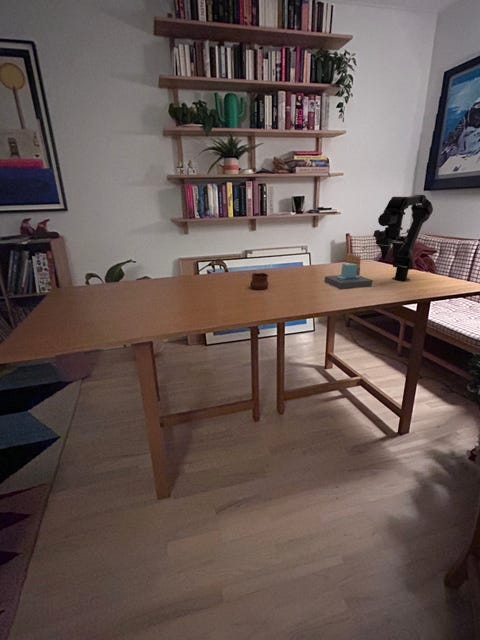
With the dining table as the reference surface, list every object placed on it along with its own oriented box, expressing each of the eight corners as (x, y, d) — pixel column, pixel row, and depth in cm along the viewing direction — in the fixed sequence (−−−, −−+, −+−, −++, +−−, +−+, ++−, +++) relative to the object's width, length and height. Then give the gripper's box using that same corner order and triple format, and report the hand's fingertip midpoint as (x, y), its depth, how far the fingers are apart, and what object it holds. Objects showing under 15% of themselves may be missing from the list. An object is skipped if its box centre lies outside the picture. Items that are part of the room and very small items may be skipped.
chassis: (354, 279, 168) (355, 273, 167) (371, 286, 156) (372, 280, 154) (324, 281, 163) (324, 276, 162) (340, 289, 151) (340, 283, 149)
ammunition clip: (359, 276, 174) (362, 254, 169) (356, 277, 173) (359, 255, 169) (346, 272, 183) (349, 251, 179) (343, 272, 182) (346, 251, 178)
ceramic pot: (258, 281, 164) (258, 268, 161) (285, 288, 152) (286, 274, 149) (233, 288, 152) (232, 274, 150) (260, 297, 141) (260, 282, 138)
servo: (354, 282, 163) (357, 261, 159) (359, 284, 159) (362, 263, 155) (335, 283, 160) (338, 262, 156) (340, 285, 156) (342, 264, 152)
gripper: (388, 223, 160) (383, 254, 166) (367, 224, 150) (363, 257, 155) (411, 224, 152) (404, 257, 158) (390, 226, 141) (384, 261, 147)
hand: (388, 258), depth 155 cm, fingers open, 9 cm apart
